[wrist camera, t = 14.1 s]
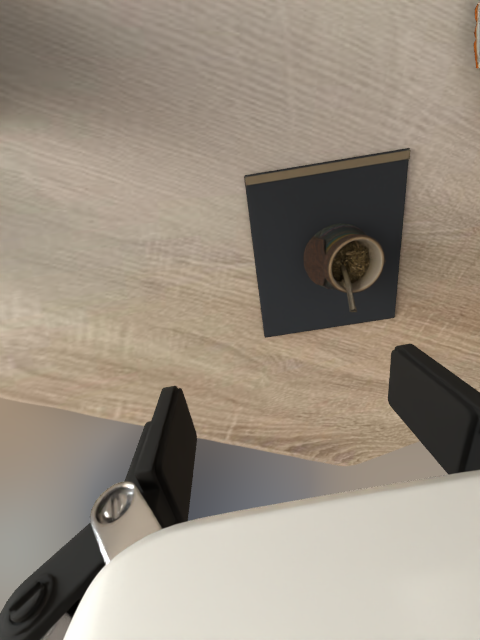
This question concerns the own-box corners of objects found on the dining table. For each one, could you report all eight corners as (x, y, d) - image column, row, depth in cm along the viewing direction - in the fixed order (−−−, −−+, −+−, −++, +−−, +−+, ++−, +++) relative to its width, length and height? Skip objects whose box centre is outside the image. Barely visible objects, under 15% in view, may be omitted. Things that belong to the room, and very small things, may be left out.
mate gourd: (361, 220, 30) (418, 223, 21) (352, 283, 33) (400, 310, 24) (300, 223, 30) (331, 227, 21) (297, 285, 33) (323, 314, 24)
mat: (244, 176, 29) (244, 175, 28) (406, 149, 28) (410, 147, 28) (264, 335, 36) (265, 338, 36) (392, 316, 36) (395, 318, 35)
